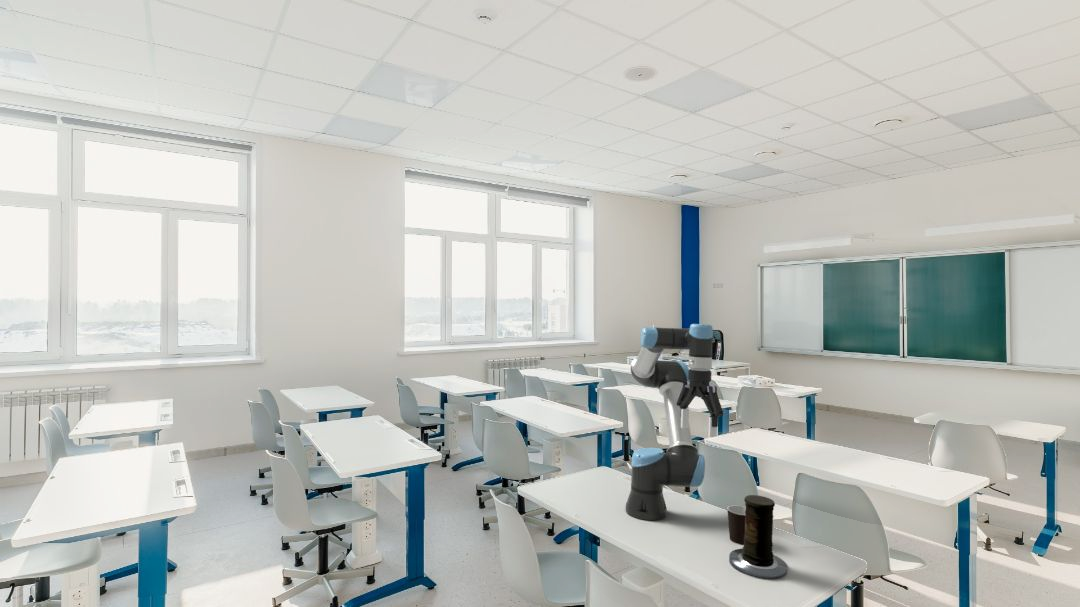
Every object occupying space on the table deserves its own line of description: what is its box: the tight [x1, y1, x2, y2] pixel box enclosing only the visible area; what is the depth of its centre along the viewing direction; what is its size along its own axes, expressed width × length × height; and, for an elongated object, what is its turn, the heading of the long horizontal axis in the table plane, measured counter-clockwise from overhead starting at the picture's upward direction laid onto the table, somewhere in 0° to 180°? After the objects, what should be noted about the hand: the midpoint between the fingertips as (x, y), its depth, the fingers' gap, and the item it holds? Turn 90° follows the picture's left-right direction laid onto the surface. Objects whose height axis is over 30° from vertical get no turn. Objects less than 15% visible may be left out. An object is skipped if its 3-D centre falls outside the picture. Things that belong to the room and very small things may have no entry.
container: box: [741, 494, 776, 567], centre depth 157 cm, size 9×9×18 cm
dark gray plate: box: [728, 548, 788, 580], centre depth 156 cm, size 16×16×2 cm
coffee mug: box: [726, 504, 746, 546], centre depth 174 cm, size 12×9×10 cm
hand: (698, 432), depth 177 cm, fingers open, 13 cm apart
